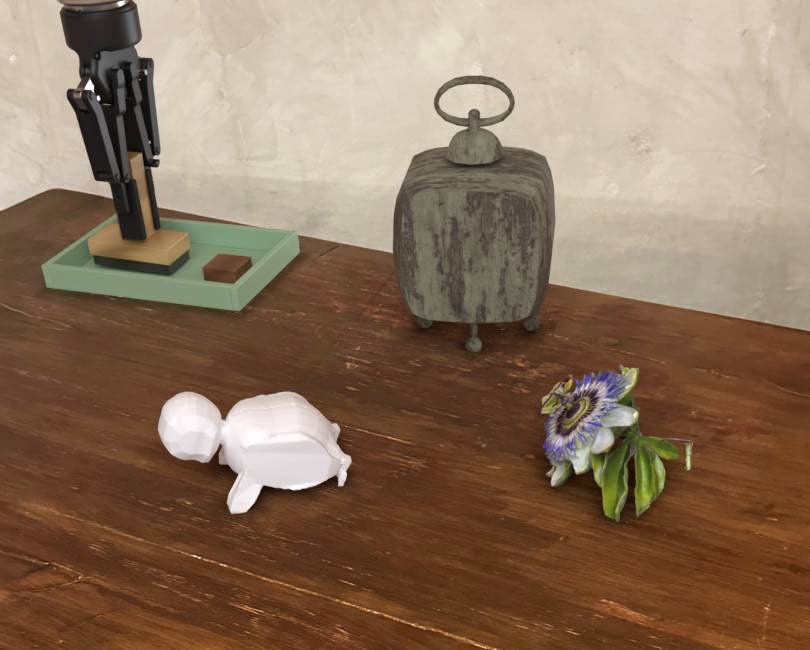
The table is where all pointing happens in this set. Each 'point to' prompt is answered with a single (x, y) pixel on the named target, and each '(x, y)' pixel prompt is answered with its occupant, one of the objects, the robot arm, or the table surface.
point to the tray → (188, 280)
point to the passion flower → (605, 439)
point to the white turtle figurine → (256, 442)
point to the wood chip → (226, 268)
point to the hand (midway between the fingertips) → (141, 232)
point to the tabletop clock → (475, 227)
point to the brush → (150, 255)
